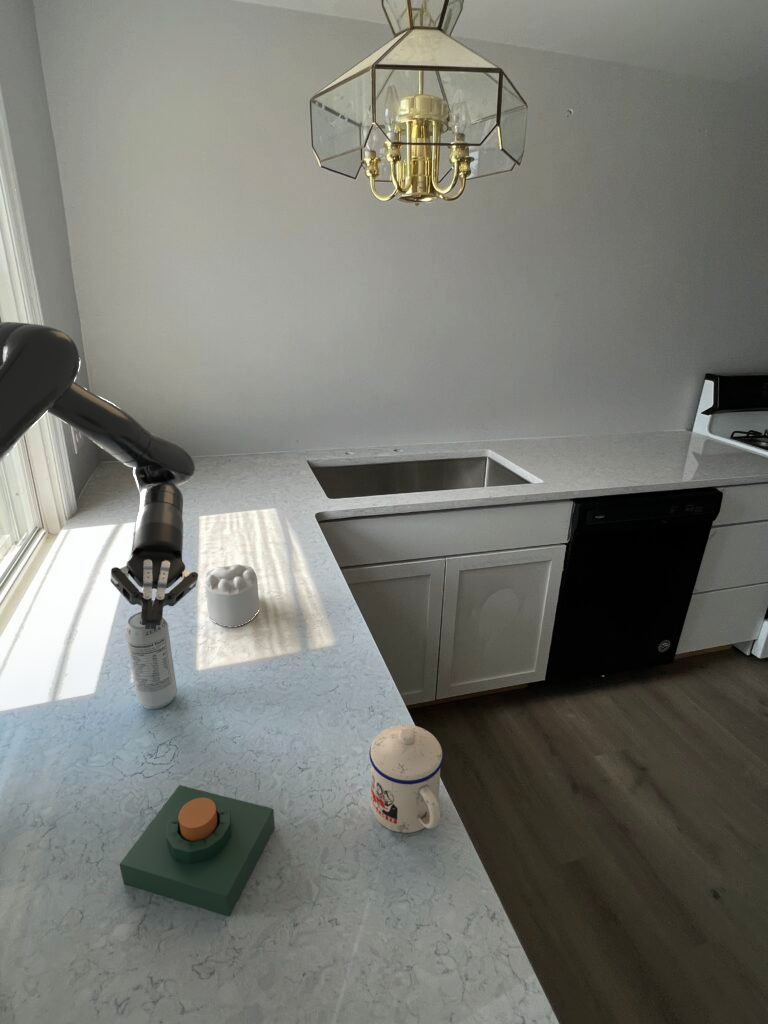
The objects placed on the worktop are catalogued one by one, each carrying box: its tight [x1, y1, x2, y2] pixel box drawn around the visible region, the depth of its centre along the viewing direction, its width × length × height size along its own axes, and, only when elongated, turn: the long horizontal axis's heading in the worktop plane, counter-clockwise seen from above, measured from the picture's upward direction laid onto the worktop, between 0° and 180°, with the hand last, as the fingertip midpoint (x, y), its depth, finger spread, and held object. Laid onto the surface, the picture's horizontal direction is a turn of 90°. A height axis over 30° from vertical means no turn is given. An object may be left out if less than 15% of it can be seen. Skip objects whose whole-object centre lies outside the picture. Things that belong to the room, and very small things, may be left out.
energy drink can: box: [124, 611, 178, 710], centre depth 87 cm, size 6×6×15 cm
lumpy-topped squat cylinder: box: [203, 564, 260, 628], centre depth 114 cm, size 10×13×9 cm
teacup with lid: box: [368, 724, 444, 834], centre depth 68 cm, size 12×9×12 cm
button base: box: [119, 784, 276, 918], centre depth 64 cm, size 13×11×5 cm
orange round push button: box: [179, 798, 217, 841], centre depth 63 cm, size 4×4×2 cm
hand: (151, 625), depth 79 cm, fingers closed
